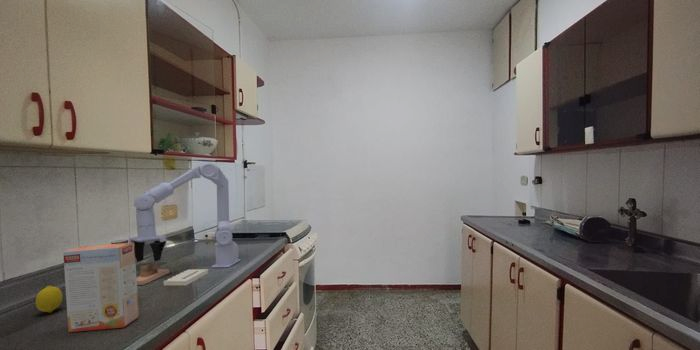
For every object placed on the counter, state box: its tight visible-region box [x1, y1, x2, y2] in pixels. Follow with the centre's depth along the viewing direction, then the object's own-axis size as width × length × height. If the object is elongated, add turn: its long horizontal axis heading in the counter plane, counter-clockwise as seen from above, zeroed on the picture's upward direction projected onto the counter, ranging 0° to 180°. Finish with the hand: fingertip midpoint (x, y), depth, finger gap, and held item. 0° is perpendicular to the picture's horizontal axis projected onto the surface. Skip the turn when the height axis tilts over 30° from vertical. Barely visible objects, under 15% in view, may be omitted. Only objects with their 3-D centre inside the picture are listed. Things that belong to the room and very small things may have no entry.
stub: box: [136, 261, 170, 286], centre depth 108 cm, size 12×6×6 cm, turn 172°
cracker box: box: [62, 242, 140, 333], centre depth 74 cm, size 14×6×21 cm, turn 92°
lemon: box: [34, 285, 64, 314], centre depth 84 cm, size 6×6×8 cm
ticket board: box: [163, 268, 209, 286], centre depth 106 cm, size 12×9×2 cm
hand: (148, 260), depth 108 cm, fingers open, 7 cm apart
